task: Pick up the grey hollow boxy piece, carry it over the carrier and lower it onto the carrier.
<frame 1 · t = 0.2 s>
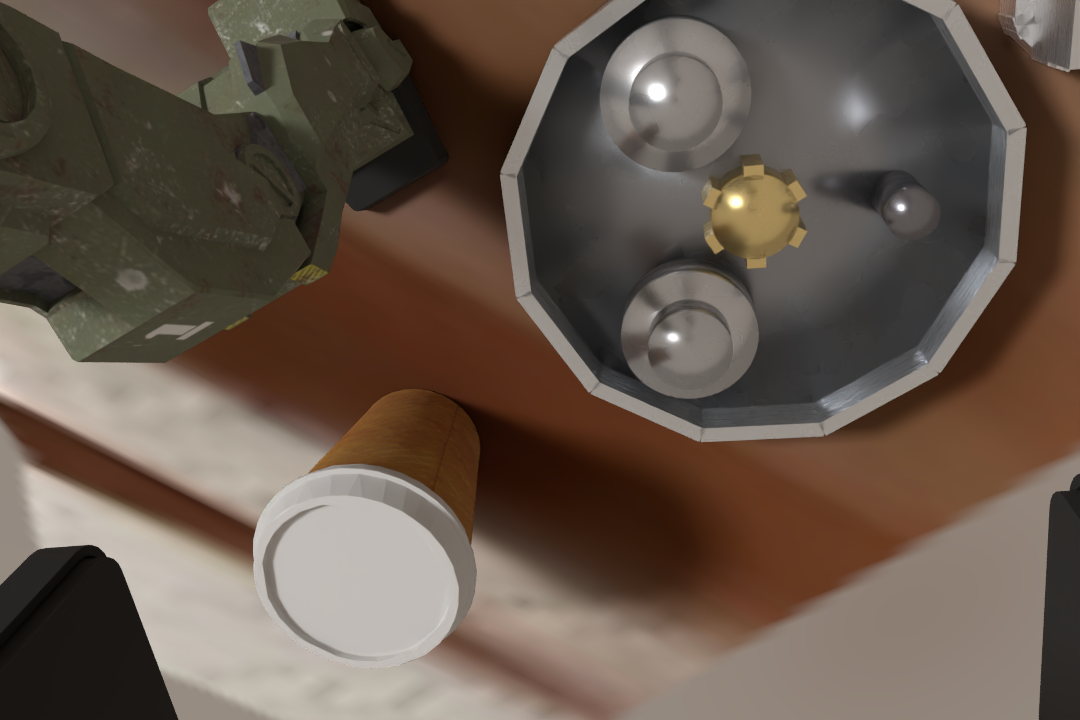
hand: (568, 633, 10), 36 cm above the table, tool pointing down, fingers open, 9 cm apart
carrier: (749, 197, 44), on the table
disposable coffee cup: (421, 441, 52), on the table
mechanical leg: (330, 65, 44), on the table
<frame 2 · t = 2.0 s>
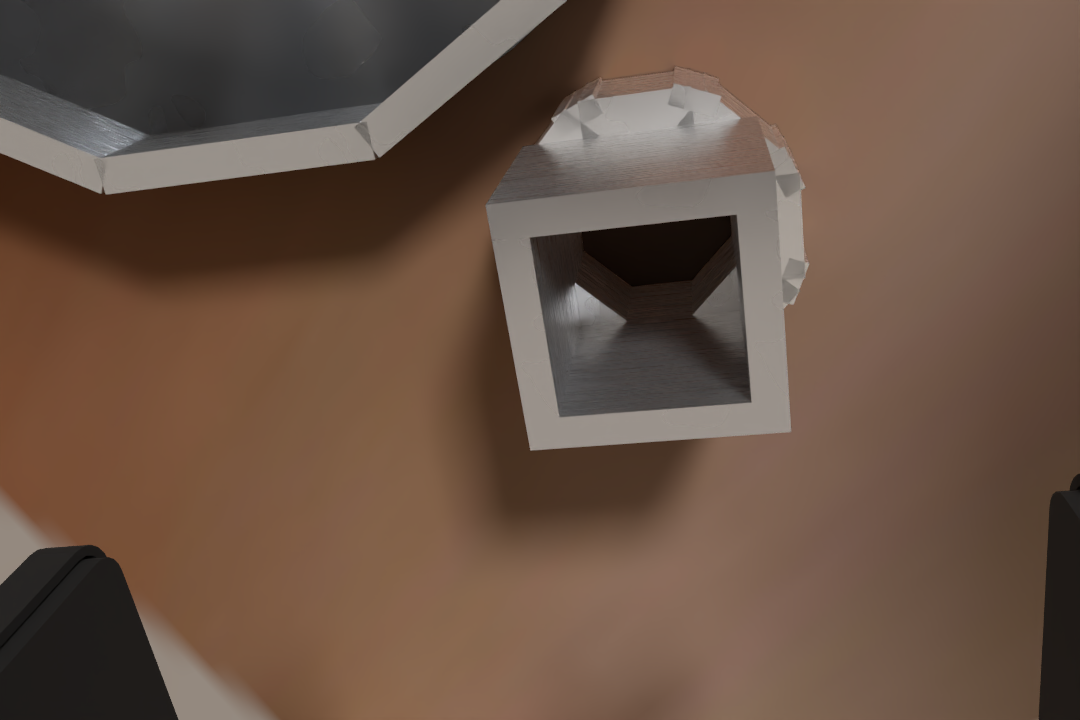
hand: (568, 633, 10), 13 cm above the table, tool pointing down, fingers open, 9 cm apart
grey hollow boxy piece: (653, 213, 21), on the table
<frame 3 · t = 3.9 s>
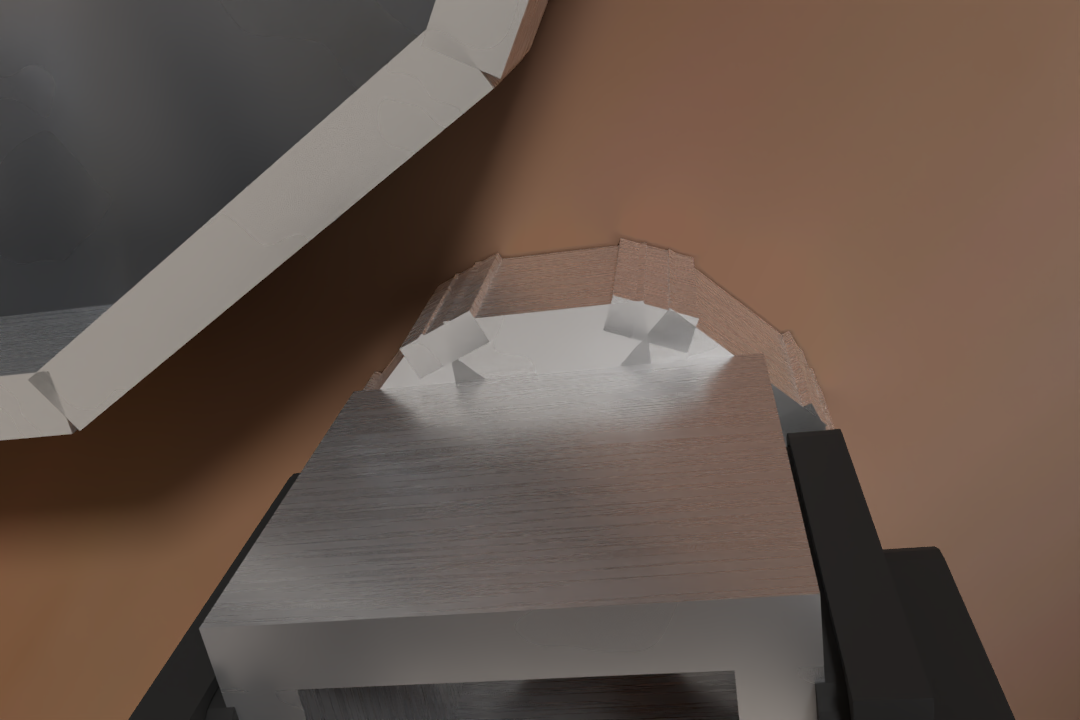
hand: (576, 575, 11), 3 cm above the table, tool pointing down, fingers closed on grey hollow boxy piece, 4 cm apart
grey hollow boxy piece: (591, 460, 13), on the table, touching gripper
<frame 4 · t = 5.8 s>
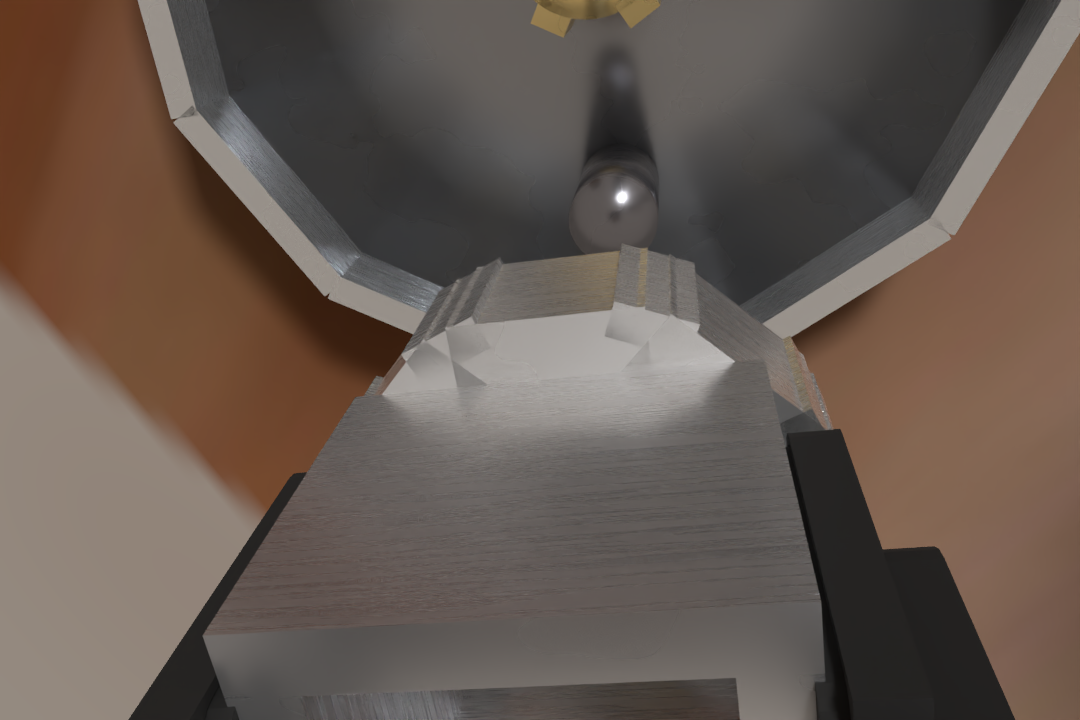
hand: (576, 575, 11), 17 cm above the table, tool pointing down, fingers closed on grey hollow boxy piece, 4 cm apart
grey hollow boxy piece: (592, 465, 13), point 15 cm above the table, touching gripper
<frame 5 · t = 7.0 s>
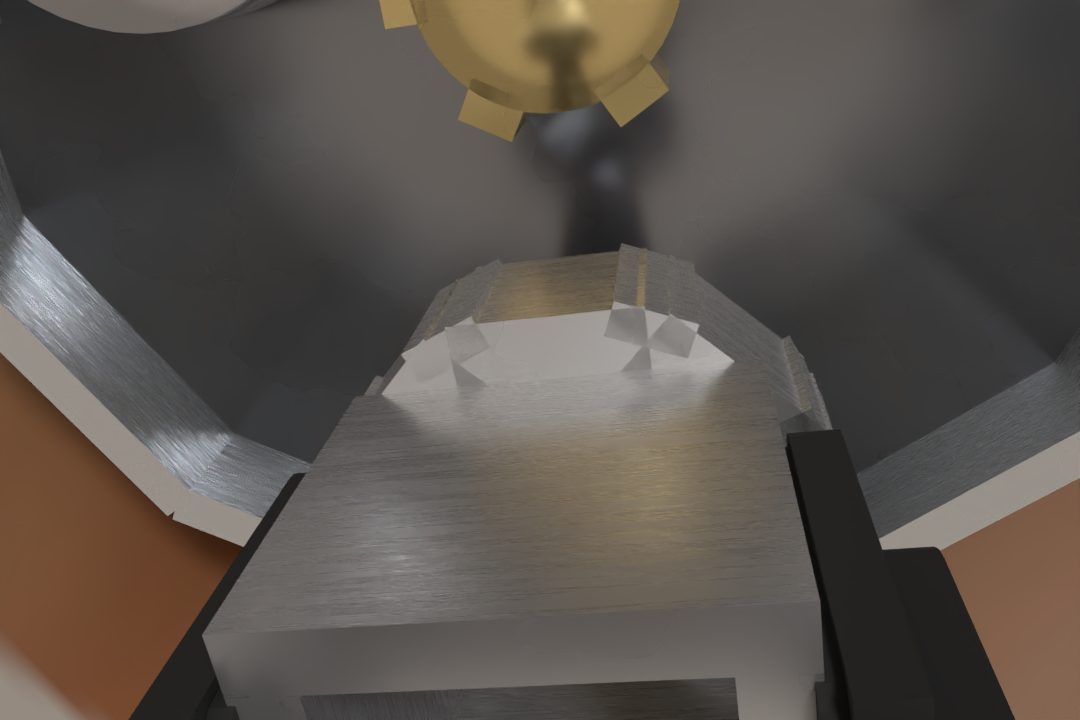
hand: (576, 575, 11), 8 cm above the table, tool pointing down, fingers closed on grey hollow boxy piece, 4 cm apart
grey hollow boxy piece: (592, 464, 13), point 5 cm above the table, touching gripper
when the fingers open (5 cm above the table, at t = 7.9 s): grey hollow boxy piece drops 1 cm, resting on carrier.
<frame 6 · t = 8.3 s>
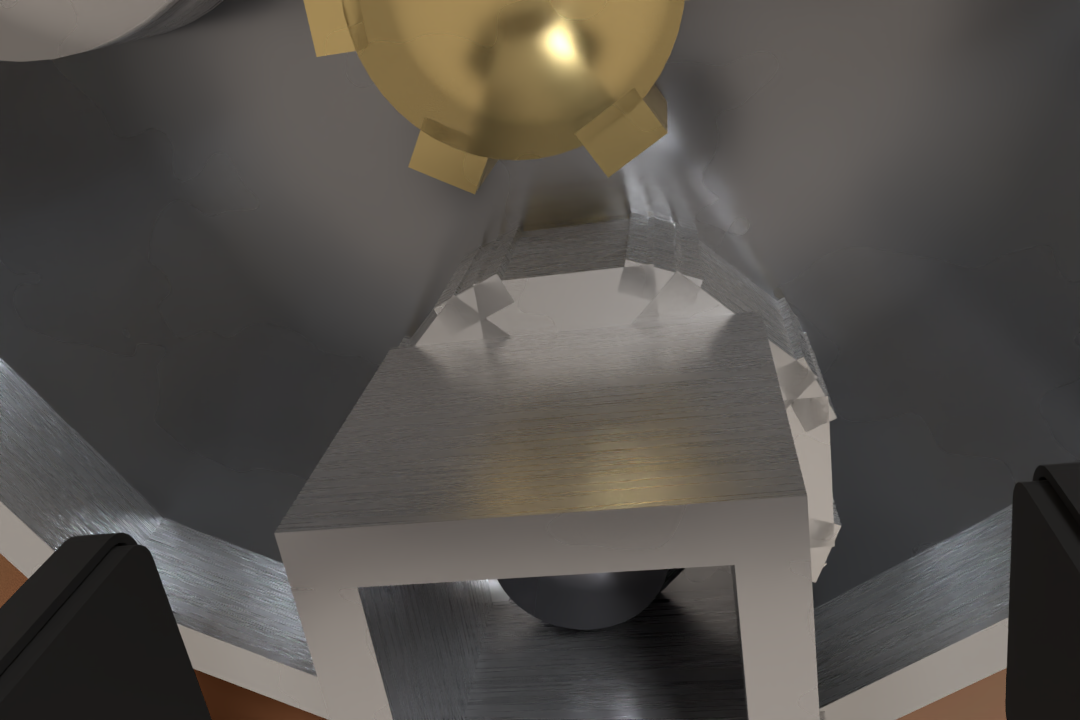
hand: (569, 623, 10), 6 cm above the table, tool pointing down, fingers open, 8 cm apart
grey hollow boxy piece: (603, 418, 14), point 1 cm above the table, touching carrier
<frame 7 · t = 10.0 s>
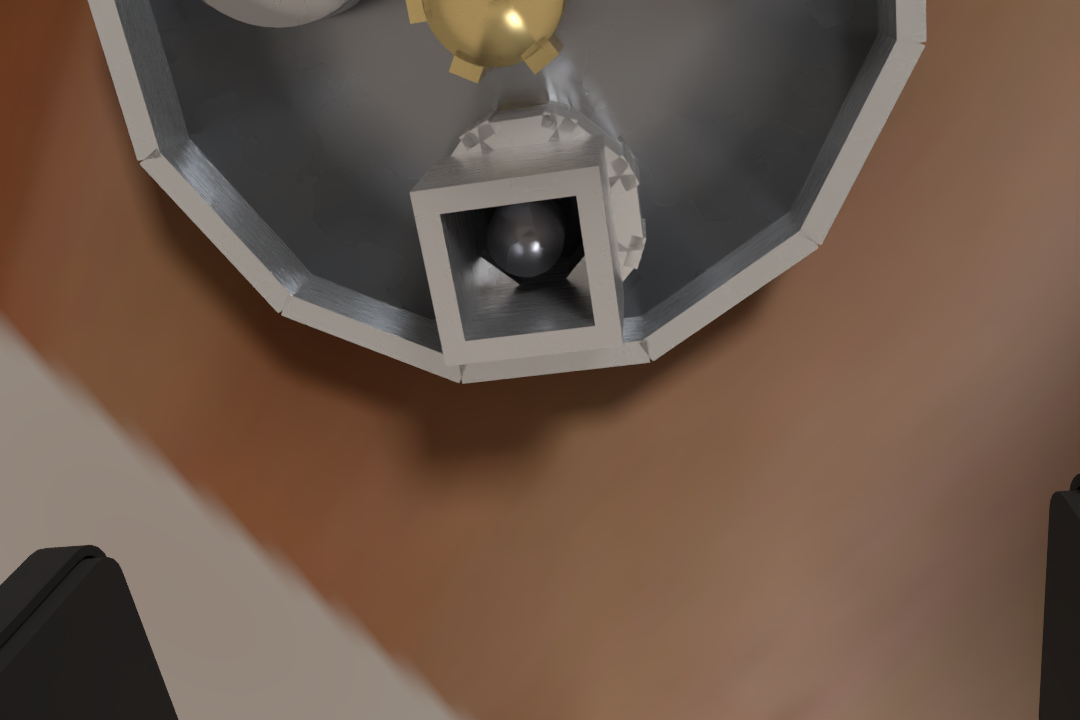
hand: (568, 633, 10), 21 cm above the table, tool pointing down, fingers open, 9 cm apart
grey hollow boxy piece: (539, 207, 29), point 1 cm above the table, touching carrier
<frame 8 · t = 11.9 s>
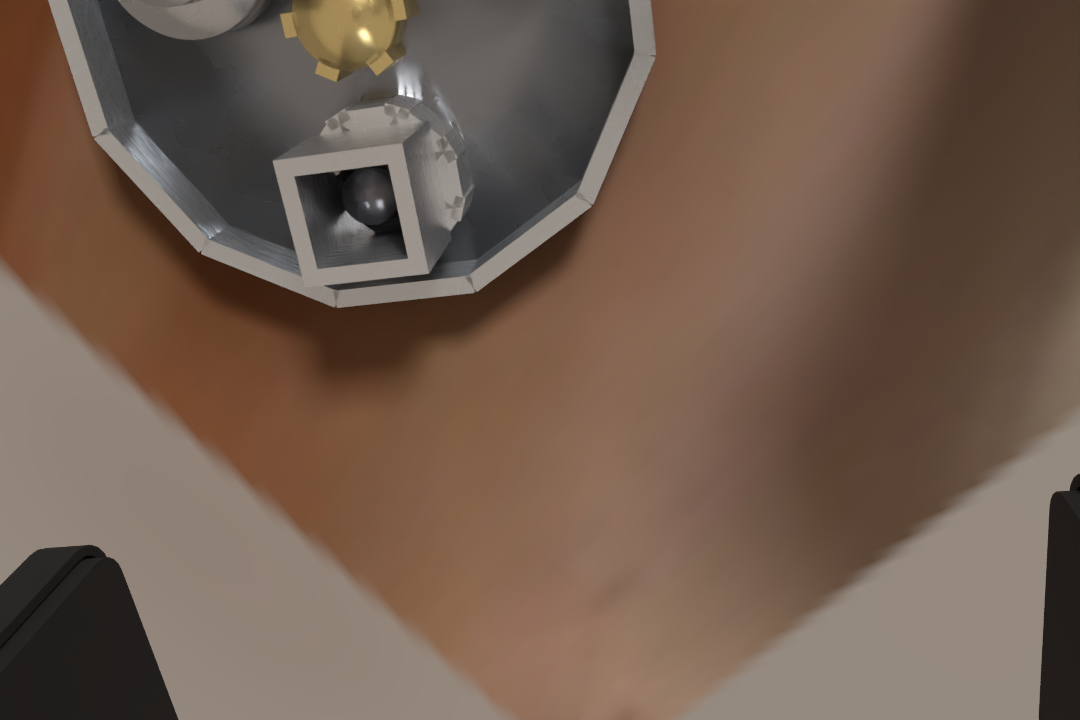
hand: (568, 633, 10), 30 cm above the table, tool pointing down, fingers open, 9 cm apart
carrier: (367, 9, 37), on the table
grey hollow boxy piece: (395, 175, 38), point 1 cm above the table, touching carrier
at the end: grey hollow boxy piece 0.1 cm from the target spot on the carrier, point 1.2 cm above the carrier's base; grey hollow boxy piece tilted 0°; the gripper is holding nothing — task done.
